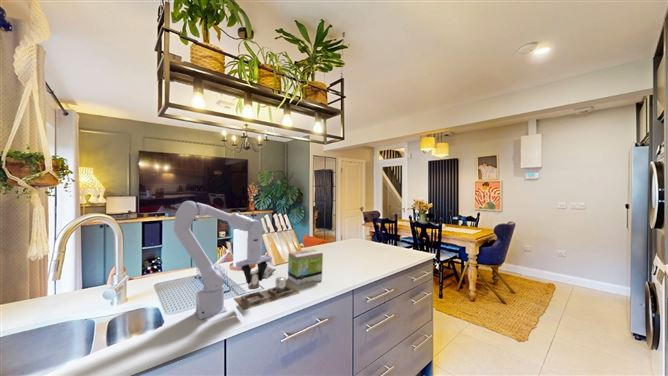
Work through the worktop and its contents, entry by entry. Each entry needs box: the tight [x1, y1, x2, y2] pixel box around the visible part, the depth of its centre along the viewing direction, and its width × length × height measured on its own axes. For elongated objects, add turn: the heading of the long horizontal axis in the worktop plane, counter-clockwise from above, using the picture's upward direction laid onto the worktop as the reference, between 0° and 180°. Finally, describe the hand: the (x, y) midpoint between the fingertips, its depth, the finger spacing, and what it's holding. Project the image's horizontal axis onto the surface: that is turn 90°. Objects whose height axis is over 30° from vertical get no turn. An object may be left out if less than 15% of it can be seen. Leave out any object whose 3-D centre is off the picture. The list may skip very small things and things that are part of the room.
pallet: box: [233, 284, 300, 311], centre depth 109 cm, size 25×12×3 cm, turn 129°
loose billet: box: [247, 270, 260, 290], centre depth 106 cm, size 4×4×6 cm
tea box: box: [287, 248, 324, 285], centre depth 130 cm, size 15×10×15 cm, turn 129°
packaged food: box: [255, 265, 277, 280], centre depth 136 cm, size 9×12×5 cm
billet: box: [275, 276, 287, 294], centre depth 113 cm, size 4×4×6 cm
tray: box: [229, 282, 265, 296], centre depth 118 cm, size 12×12×2 cm
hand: (254, 281), depth 106 cm, fingers closed on loose billet, 4 cm apart
